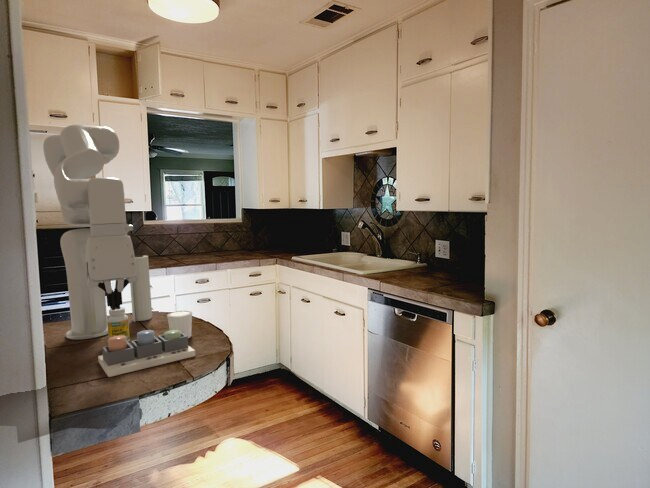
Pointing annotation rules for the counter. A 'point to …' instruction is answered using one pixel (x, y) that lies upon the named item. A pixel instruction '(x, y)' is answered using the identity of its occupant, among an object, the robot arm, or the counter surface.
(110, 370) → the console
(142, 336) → the button two
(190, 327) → the white tapered cup
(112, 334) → the supplement bottle
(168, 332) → the button three
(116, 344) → the button one
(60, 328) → the counter surface
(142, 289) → the paper towel roll
